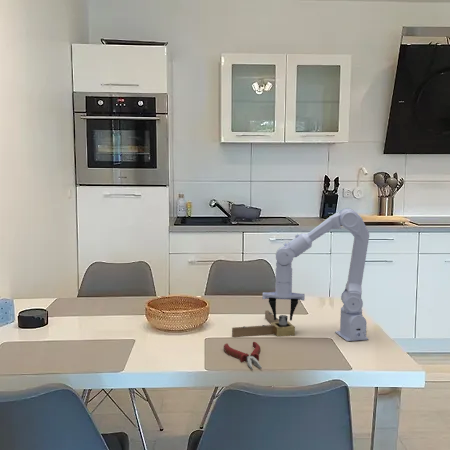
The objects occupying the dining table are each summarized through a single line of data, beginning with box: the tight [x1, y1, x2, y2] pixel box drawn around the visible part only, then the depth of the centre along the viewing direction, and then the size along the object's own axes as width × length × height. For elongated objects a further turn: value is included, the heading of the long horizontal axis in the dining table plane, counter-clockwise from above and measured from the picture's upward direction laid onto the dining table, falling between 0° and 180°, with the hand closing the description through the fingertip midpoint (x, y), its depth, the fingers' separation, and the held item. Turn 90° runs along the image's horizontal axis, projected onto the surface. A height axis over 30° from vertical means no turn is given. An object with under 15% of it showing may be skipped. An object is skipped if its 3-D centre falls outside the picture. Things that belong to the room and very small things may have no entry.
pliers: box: [223, 341, 263, 370], centre depth 165 cm, size 12×20×3 cm, turn 13°
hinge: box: [231, 310, 296, 338], centre depth 195 cm, size 22×22×3 cm
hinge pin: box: [278, 314, 288, 327], centre depth 190 cm, size 3×3×6 cm
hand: (282, 319), depth 189 cm, fingers open, 5 cm apart
